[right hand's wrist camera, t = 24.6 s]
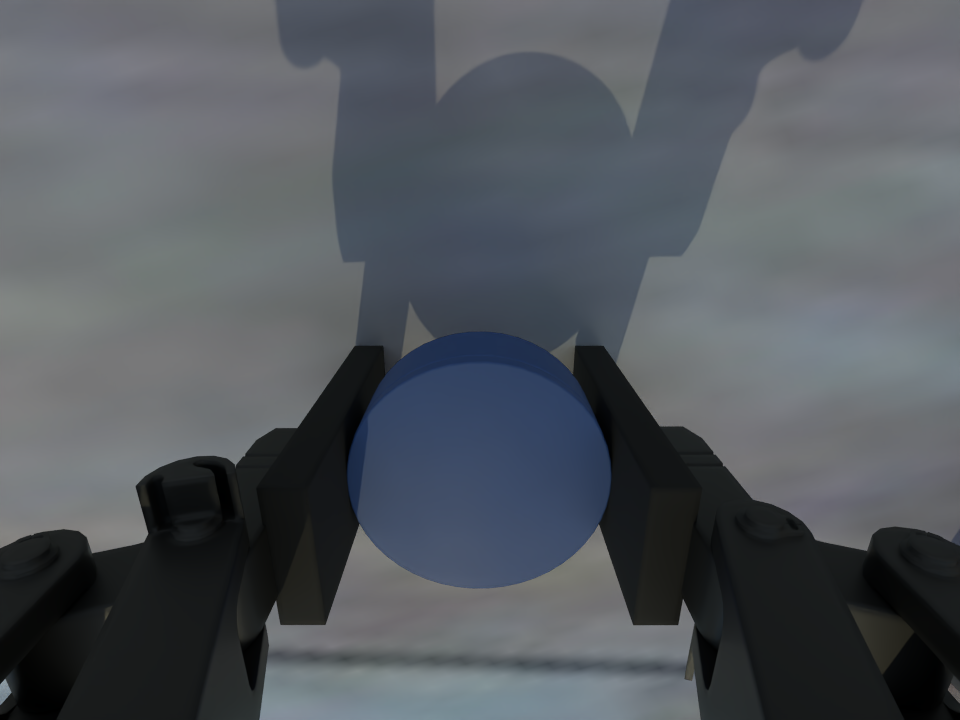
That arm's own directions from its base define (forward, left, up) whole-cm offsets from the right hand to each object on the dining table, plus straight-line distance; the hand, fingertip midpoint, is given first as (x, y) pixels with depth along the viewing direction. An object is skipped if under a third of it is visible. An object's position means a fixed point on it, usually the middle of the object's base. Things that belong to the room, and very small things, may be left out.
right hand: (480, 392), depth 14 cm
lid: (0, 0, +4) cm, 4 cm away
